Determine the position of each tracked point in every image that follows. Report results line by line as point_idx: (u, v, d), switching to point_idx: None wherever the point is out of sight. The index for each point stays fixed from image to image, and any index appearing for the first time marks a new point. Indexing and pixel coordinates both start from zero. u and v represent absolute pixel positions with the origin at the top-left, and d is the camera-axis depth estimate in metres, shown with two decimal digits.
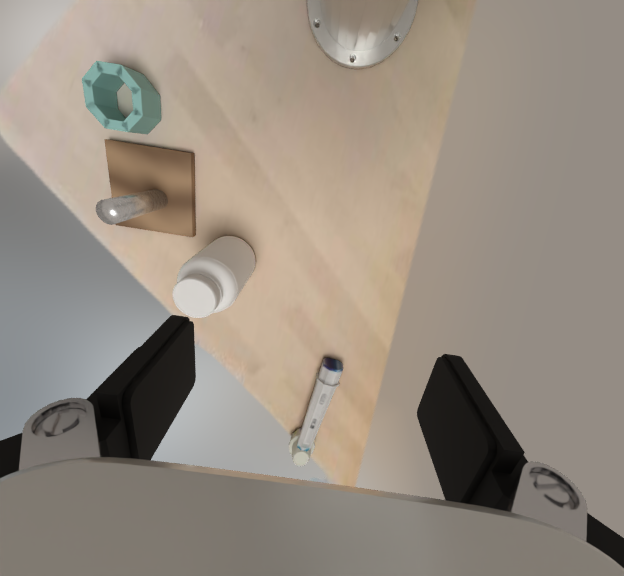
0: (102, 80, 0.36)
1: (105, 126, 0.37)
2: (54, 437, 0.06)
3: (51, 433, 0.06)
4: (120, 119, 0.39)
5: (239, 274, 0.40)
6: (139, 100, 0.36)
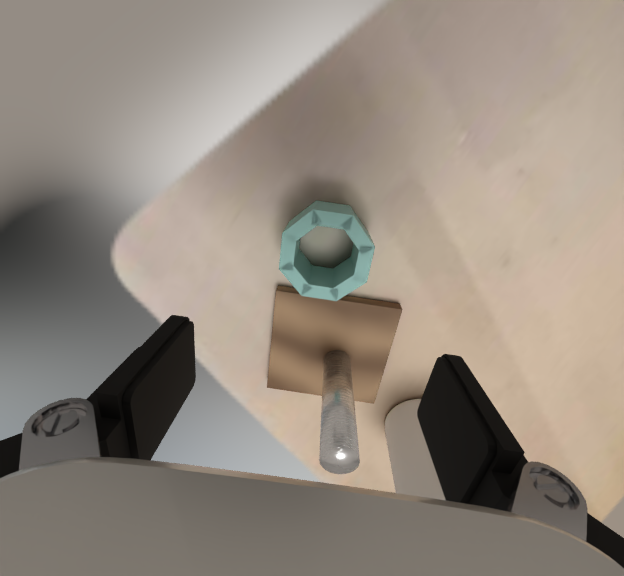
0: None
1: (302, 294, 0.24)
2: (54, 437, 0.06)
3: (51, 433, 0.06)
4: (309, 269, 0.26)
5: None
6: (368, 262, 0.23)
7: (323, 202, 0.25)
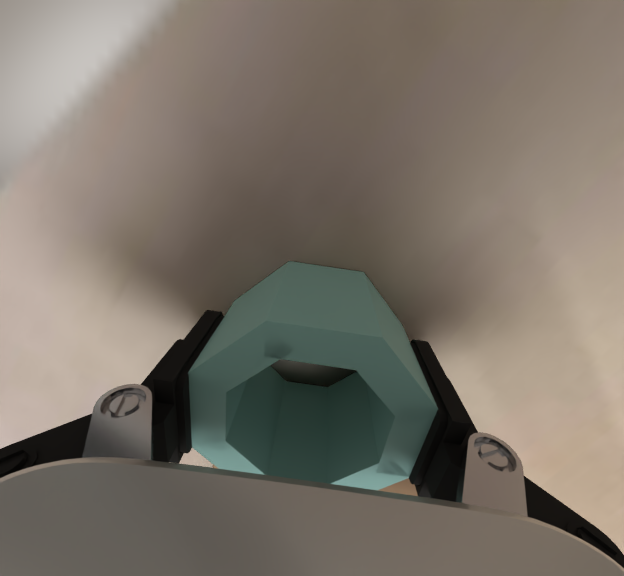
0: None
1: None
2: (117, 418, 0.07)
3: (115, 414, 0.07)
4: (276, 404, 0.12)
5: None
6: (417, 440, 0.09)
7: (304, 268, 0.11)
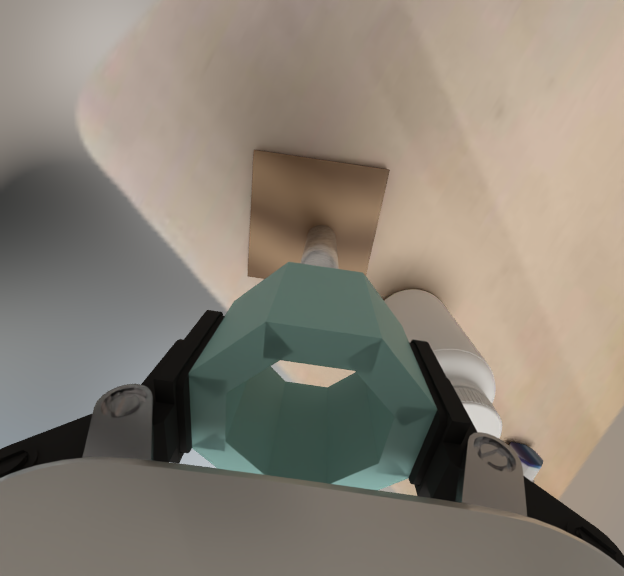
0: None
1: None
2: (117, 418, 0.07)
3: (116, 414, 0.07)
4: (276, 404, 0.12)
5: None
6: (416, 441, 0.09)
7: (303, 269, 0.11)
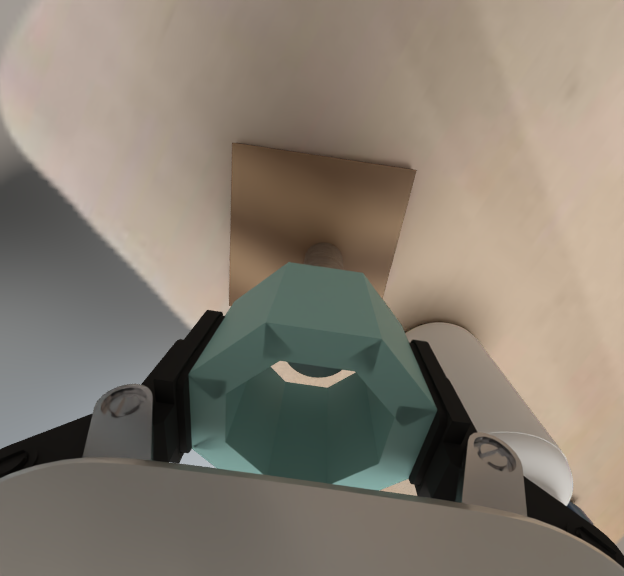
0: None
1: None
2: (117, 418, 0.07)
3: (115, 414, 0.07)
4: (276, 405, 0.12)
5: None
6: (417, 441, 0.09)
7: (303, 269, 0.11)
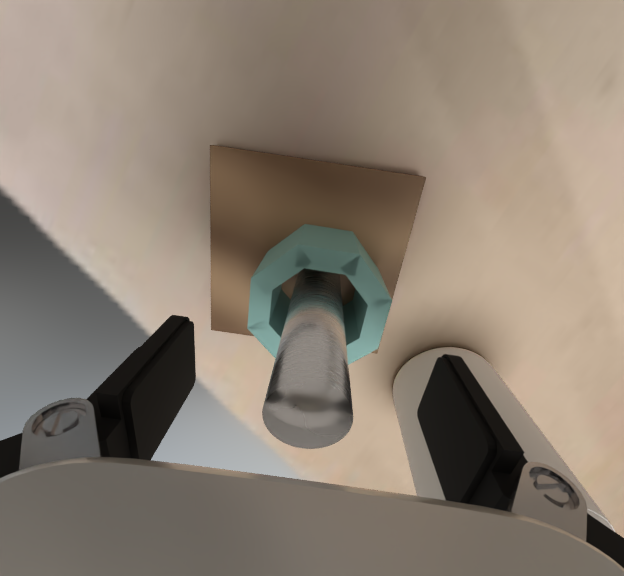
0: None
1: None
2: (54, 437, 0.06)
3: (51, 433, 0.06)
4: None
5: None
6: (381, 321, 0.15)
7: (315, 227, 0.17)
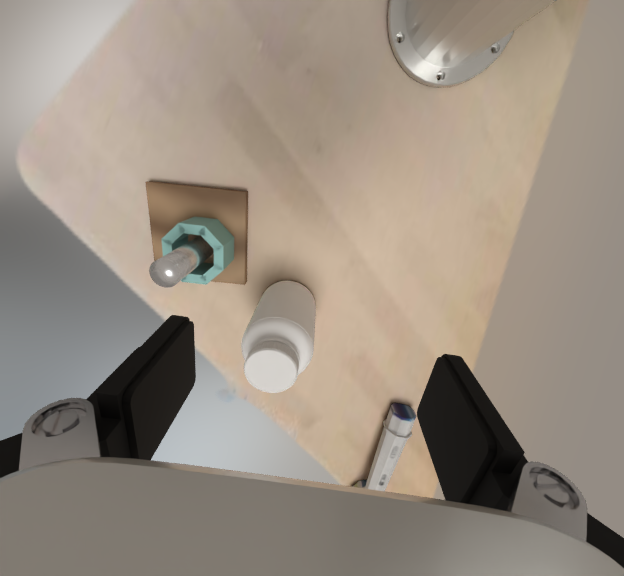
0: (181, 236, 0.34)
1: (182, 280, 0.35)
2: (54, 437, 0.06)
3: (51, 433, 0.06)
4: None
5: (312, 331, 0.33)
6: (221, 256, 0.34)
7: (197, 217, 0.36)
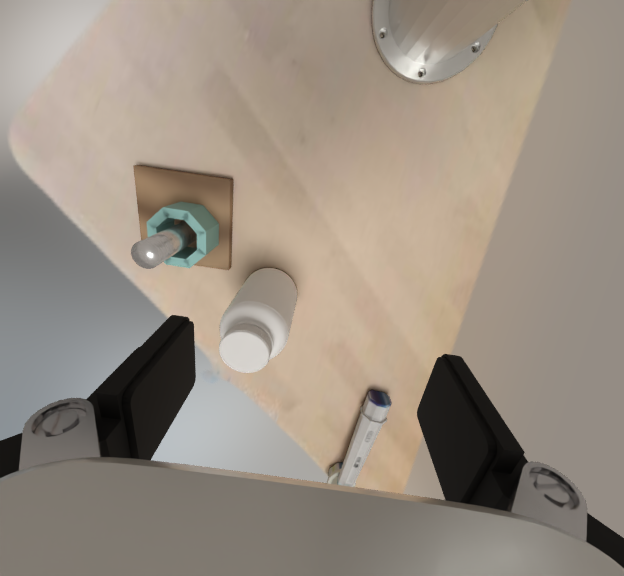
0: (166, 220, 0.35)
1: (166, 263, 0.37)
2: (54, 437, 0.06)
3: (51, 433, 0.06)
4: None
5: (288, 317, 0.35)
6: (204, 241, 0.35)
7: (183, 202, 0.37)
